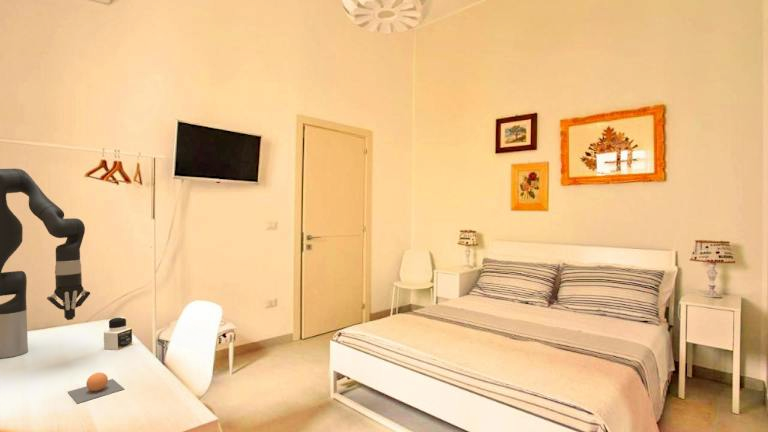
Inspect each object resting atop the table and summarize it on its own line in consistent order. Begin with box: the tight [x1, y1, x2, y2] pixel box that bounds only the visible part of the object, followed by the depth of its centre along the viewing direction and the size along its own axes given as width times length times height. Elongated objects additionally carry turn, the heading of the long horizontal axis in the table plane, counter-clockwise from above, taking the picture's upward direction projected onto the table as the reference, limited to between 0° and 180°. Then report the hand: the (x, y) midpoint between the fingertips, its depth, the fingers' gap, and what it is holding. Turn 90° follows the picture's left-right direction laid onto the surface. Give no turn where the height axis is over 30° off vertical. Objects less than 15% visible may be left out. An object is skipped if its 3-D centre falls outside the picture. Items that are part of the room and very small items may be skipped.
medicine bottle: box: [103, 316, 133, 351], centre depth 166 cm, size 7×7×12 cm
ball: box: [85, 372, 109, 391], centre depth 124 cm, size 6×6×6 cm
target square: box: [67, 378, 125, 405], centre depth 124 cm, size 12×12×1 cm
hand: (69, 319), depth 146 cm, fingers closed
